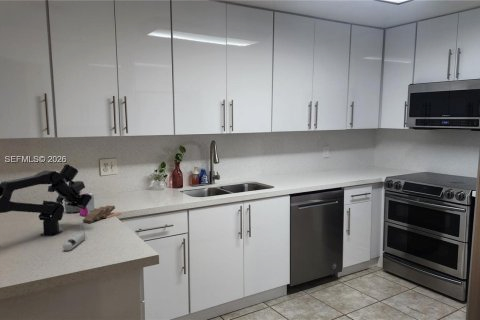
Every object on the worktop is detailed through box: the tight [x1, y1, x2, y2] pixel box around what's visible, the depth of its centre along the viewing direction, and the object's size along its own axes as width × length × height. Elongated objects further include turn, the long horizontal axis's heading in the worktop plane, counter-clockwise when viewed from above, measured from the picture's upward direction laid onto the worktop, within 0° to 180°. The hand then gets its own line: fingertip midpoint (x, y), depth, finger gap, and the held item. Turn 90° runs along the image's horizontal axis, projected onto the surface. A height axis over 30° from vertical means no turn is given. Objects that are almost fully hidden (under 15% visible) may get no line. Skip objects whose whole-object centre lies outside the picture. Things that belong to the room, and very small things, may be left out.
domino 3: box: [100, 205, 116, 219], centre depth 193 cm, size 2×5×10 cm
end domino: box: [104, 211, 122, 219], centre depth 194 cm, size 2×5×10 cm
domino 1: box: [82, 207, 104, 224], centre depth 184 cm, size 2×5×10 cm
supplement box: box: [79, 192, 95, 218], centre depth 196 cm, size 6×6×12 cm
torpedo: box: [62, 225, 87, 252], centre depth 148 cm, size 18×5×7 cm, turn 2°
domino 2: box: [93, 206, 109, 222], centre depth 188 cm, size 2×5×10 cm
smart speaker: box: [64, 190, 83, 214], centre depth 203 cm, size 10×9×14 cm
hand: (84, 208), depth 178 cm, fingers closed
